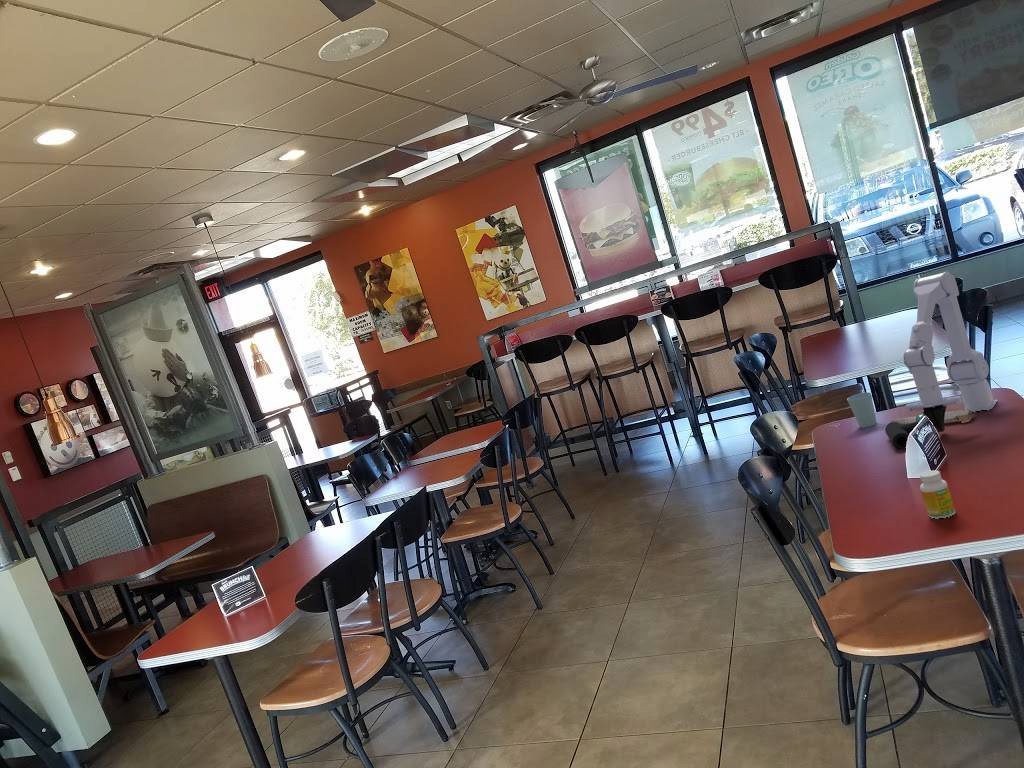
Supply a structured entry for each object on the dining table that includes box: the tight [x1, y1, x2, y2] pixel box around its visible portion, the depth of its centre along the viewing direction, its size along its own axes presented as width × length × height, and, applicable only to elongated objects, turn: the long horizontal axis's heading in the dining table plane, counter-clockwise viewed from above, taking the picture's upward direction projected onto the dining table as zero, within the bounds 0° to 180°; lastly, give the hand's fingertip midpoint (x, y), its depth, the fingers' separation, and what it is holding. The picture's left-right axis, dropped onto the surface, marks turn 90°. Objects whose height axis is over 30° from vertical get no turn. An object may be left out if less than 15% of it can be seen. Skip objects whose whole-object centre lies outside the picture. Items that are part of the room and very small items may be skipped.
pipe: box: [889, 408, 974, 425], centre depth 236 cm, size 22×5×4 cm, turn 47°
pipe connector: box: [884, 420, 920, 450], centre depth 229 cm, size 12×5×15 cm
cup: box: [846, 392, 877, 429], centre depth 260 cm, size 8×8×10 cm
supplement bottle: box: [919, 470, 957, 520], centre depth 169 cm, size 5×5×10 cm
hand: (941, 430), depth 224 cm, fingers closed
